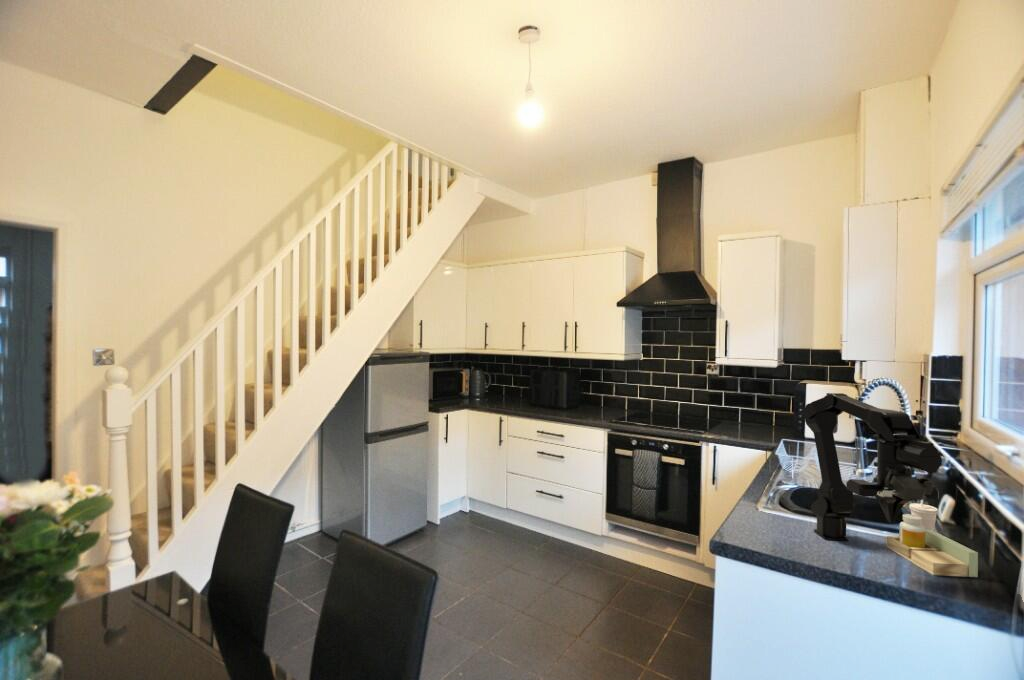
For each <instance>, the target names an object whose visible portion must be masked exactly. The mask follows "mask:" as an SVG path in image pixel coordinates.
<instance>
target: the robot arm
mask: <svg viewBox="0 0 1024 680" xmlns="http://www.w3.org/2000/svg"><path fill="white" fill-rule="evenodd" d="M843 413H846V414H848V415H850V416H853V417H855V418H857V419H859V420H862V421H864V422H865V423H866V424H867V426H868V427H869V428H870V429H871V430H873V431H874V432H876V433H874V434H873V435H871V436H870V440H872V441H876V442H877V456H876V457H877V461H874V462H873V466H874V467H876V468H877V470H876V473H877V477H873V482H874V483H872V482H870V481H867V480H866V479H860V478H859V479H854V478H850V479H848V480H847V482H846V484H845V483H844V481H843V478H842V472H841V469H840V467H841V466H840V461H839V458H838V456H839V455H838V451H837V447H836V441H835V437H834V436H835V435H834V431H835V428H836V426H837V424H838V416H840V415H841V414H843ZM802 414H803V418H804V421H805V425H806V426H807V427H808V428H809V430H811V432H812V433H813V438H814V442H815V447H816V453H817V459H818V465H819V470H820V476H821V483H820V486H819V487H818V489H817V497H818V498H817V499H815V501H814V502H813V503H811V505H810V510H811V513H812V514H814V515H816V529H815V528H814V529H813V532H814V533H815V534H817V535H818V536H820V537H821V538H823V539H824V540H827V541H828V540H829V541H849V537H847V522H846V518H849V519H850V518H851V515H852V513H853V510H854V509H855V503H856V500H855V498H854V494H856V495H858V496H860V497H869V498H870V497H873V498H875V500H876V501H877V503H878V504H879V505H880V506H879V507H880V508H881V510H882V512H883V514H884V516H885V518H886V521H887V522H889V523H890V524H895V522H896V520H897V518H898V517H899V514H900V512H901V511H902V508H903V507H904V506H905V504H907V503H910V502H914V501H915V500H918V501H921V500H923V501H924V498H925V499H928V500H929V499H932V500H939V498H940V497H939V496H940V493H939V492H940V491H939V490H938V488H937V487H936V486H935V485H933V480H931V479H930V478H926V477H925V478H924V477H921V478H919V477H918V478H917V477H913V476H912V470H911V468H913V469H917V470H919V471H923V472H927V473H934V472H936V471H937V470H939V468H940V467H941V465H942V461H943V460H942V457H941V454H940V453H939V451H938V450H937V449H936V448H934V443H933V442H930V441H924V438H923V437H922V436H921V434H920V432H919V431H918V429H917V427H916V426H915V424H914V422H913V420H912V419H911V417H910V415H909V414H908V413H906V412H904V411H900V410H895V409H894V410H893V409H885V408H880V407H876V406H874V405H871V404H869V403H866V402H864V401H862V400H858V399H856V398H854V397H850V396H849V395H848V394H845V393H842V392H841V393H840V392H839V393H836V392H835V393H834V392H833V393H828V394H826V395H825V396H823V397H821V398H819V399H816V400H814V401H812V402H810V403H806V405H805V407H804V408H803V410H802Z"/></svg>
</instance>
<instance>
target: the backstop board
mask: <svg viewBox="0 0 1024 680" xmlns="http://www.w3.org/2000/svg"><path fill="white" fill-rule="evenodd" d="M925 542H926V543H928V544H930V545H932V546H934V547H936V548H938V549H939V550H940V552H945V553H947V554H949V555H951V556H953V557H954V558H956V559H958V560H960V561H962V562H964V563H966V564H968V577H969V578H978V576H979V575H978V573H979V572H978V571H979V562H978V561H979V552H977V551H975V550H973V549H972V548H969V547H967V546H965V545H964V544H961V543H959V542H957V541H956V540H955V541H954V540H953V539H952V538H951V539H950V538H948V537H947V536H944V535H942V534H940V533H938V532H937V531H935V530H934V531H933V530H925Z"/></svg>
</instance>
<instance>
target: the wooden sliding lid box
mask: <svg viewBox="0 0 1024 680" xmlns="http://www.w3.org/2000/svg"><path fill="white" fill-rule="evenodd" d="M886 548H887V549H889V550H891V551H893V552H895V553H896V554H898V555H899V556H901V557H903V558H905V559H906V560H908V561H909V562H911V563H913V564H914V565H915V566H917V567H919V568H921V569H922V570H923V571H925V572H927V573H929V574H931V575H932V576H946V577H948V576H949V577H964V578H965V577H969V576H968V564H966V563H964V562H962V561H960V560H958V559H956V558H954V557H953V556H951V555H949V554H947V553H945V552H940V550H939V549H938V548H936V547H934V546H932V545H930V544H928V543H926V542H925V548H917V547H908V546H907V545H905V544H903V543H901V542H900V541H899V536H894V535H893V536H889V535H886Z"/></svg>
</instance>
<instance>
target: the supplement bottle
mask: <svg viewBox="0 0 1024 680" xmlns="http://www.w3.org/2000/svg"><path fill="white" fill-rule="evenodd" d="M902 520H903V521H901V522H899V526H898V529H899V532H898V533H899V536H898V537H899V541H900V542H901V543H903V544H905V545H907V546H908V547H917V548H925V528H924V527H923V526H922V525H921V524H922V518H921V517H919V516H916V515H912V514H911V513H910V514H909V513H904V514H902Z"/></svg>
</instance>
